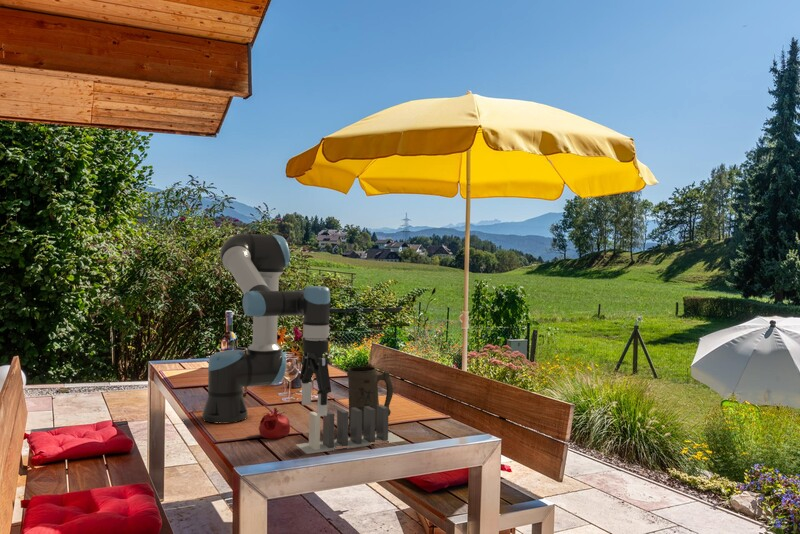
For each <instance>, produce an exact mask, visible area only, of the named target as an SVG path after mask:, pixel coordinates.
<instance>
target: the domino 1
mask: <svg viewBox="0 0 800 534" xmlns="http://www.w3.org/2000/svg"><path fill="white" fill-rule="evenodd" d="M320 441H321V416H317V411H309V412H308V443H309V446H310V447H311V448H313V449H314V450H318V449H320Z"/></svg>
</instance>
